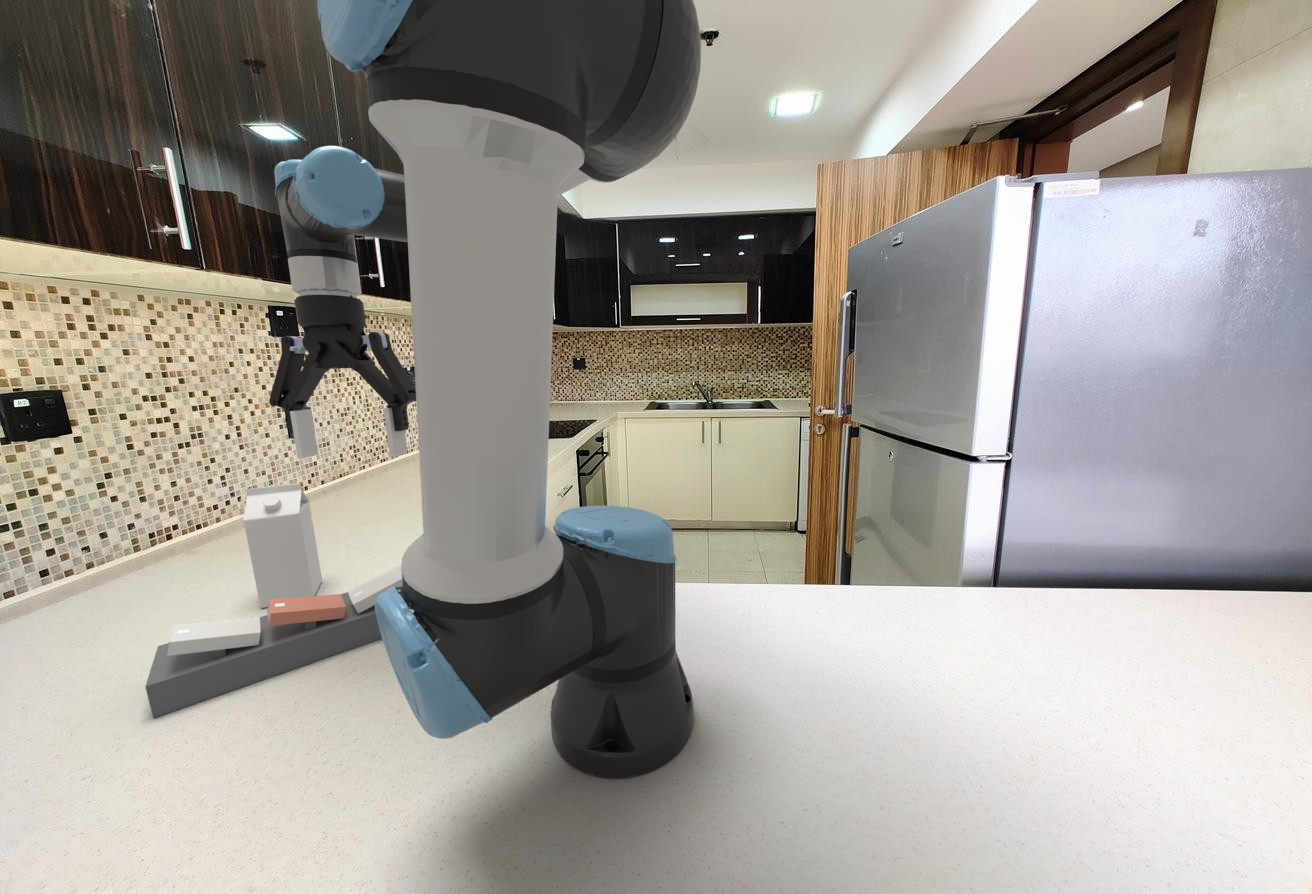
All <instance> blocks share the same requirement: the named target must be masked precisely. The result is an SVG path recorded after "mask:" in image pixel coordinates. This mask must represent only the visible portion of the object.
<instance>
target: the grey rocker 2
mask: <svg viewBox="0 0 1312 894" xmlns="http://www.w3.org/2000/svg"><path fill="white" fill-rule="evenodd" d="M401 566H402V563H401V564H399V565H398V566H395V567H393V568H392V569H390V570H387V571H386V572H384V573H382V574H381V575H378V576H376V577H374V578H372V579H371V580H368V581H367V582H364V583H363V584H361V585H359V586H357V587H355V588H353V589H351V590H349V591H347V592H348V594H349V596H350V599H351V601H352V603H353V605H354V607H355V609H356V611H357V612H358V614H359V613H361V612H363V611H364V610H366V609H368V608H370V607H372V606H374V605H375V604H376V603H375V601H376V599H377V597H378V596H379V595H380V594H382V593H383V592H385V591H387V590H388V589H389V588H390V587H401V586H402V571H401Z"/></svg>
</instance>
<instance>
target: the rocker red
mask: <svg viewBox="0 0 1312 894" xmlns="http://www.w3.org/2000/svg"><path fill="white" fill-rule="evenodd" d="M341 594H342V593H338V594H324V595H323V594H322V595H315V596H307V597H293V598H279V599H269V605H268V607H267V615H268V623H269V626H273V625H283V624H293V623H303V622H312V621H322V620H332V619H342V618H344V615H345V609H346V606H345V604H344V601H343V599H342V596H341Z"/></svg>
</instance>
